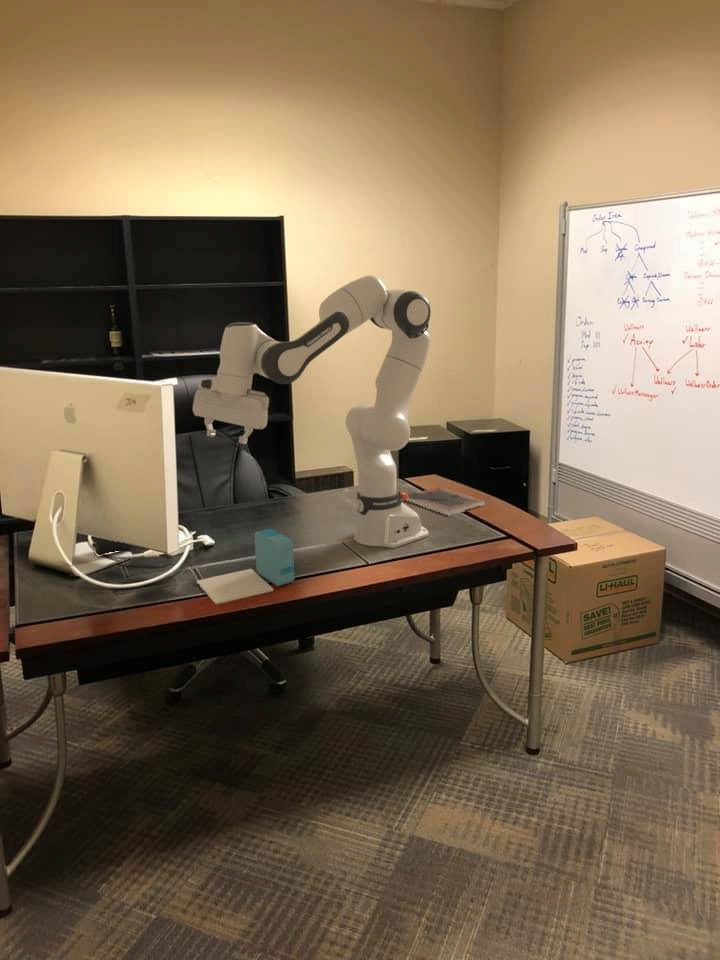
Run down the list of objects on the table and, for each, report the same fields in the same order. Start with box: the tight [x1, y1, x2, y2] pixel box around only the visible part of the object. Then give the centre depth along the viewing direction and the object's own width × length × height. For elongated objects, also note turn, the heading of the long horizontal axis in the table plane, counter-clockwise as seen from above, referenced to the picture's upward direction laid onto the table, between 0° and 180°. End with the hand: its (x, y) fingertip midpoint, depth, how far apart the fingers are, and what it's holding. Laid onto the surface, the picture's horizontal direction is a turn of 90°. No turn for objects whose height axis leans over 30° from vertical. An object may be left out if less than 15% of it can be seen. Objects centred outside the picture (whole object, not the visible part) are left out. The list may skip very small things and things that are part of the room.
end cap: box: [90, 536, 134, 555], centre depth 211 cm, size 10×7×7 cm
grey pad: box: [196, 568, 275, 605], centre depth 188 cm, size 15×15×1 cm
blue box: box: [254, 528, 295, 587], centre depth 191 cm, size 12×4×12 cm, turn 37°
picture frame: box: [405, 486, 486, 517], centre depth 250 cm, size 16×2×22 cm
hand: (226, 439), depth 190 cm, fingers open, 8 cm apart
